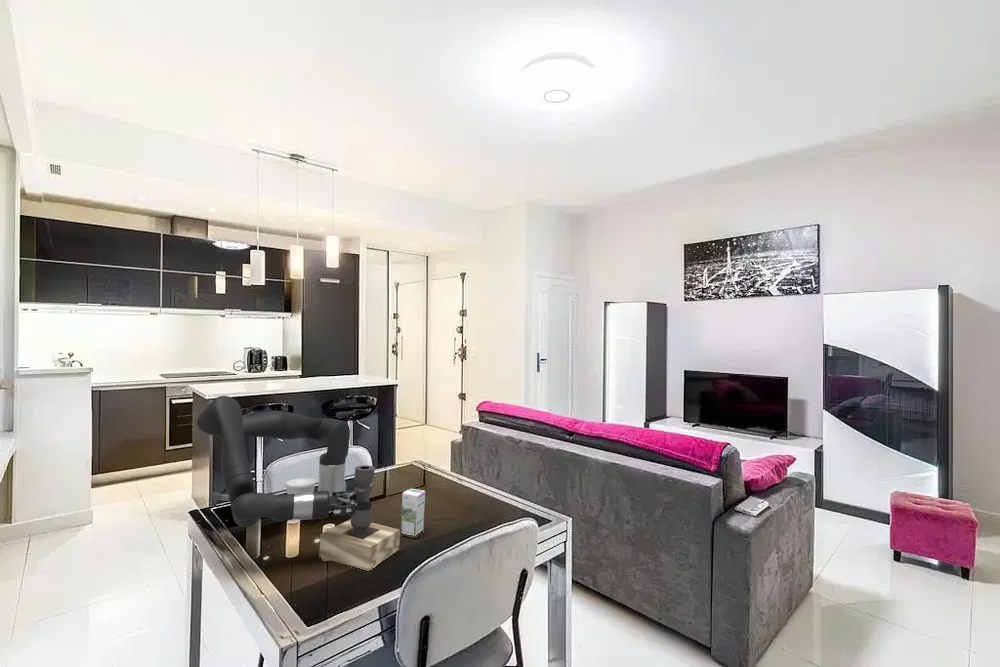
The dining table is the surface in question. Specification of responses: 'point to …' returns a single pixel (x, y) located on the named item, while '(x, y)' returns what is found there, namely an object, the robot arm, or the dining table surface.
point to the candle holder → (362, 500)
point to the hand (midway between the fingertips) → (369, 500)
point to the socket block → (359, 545)
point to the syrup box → (412, 511)
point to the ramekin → (300, 485)
